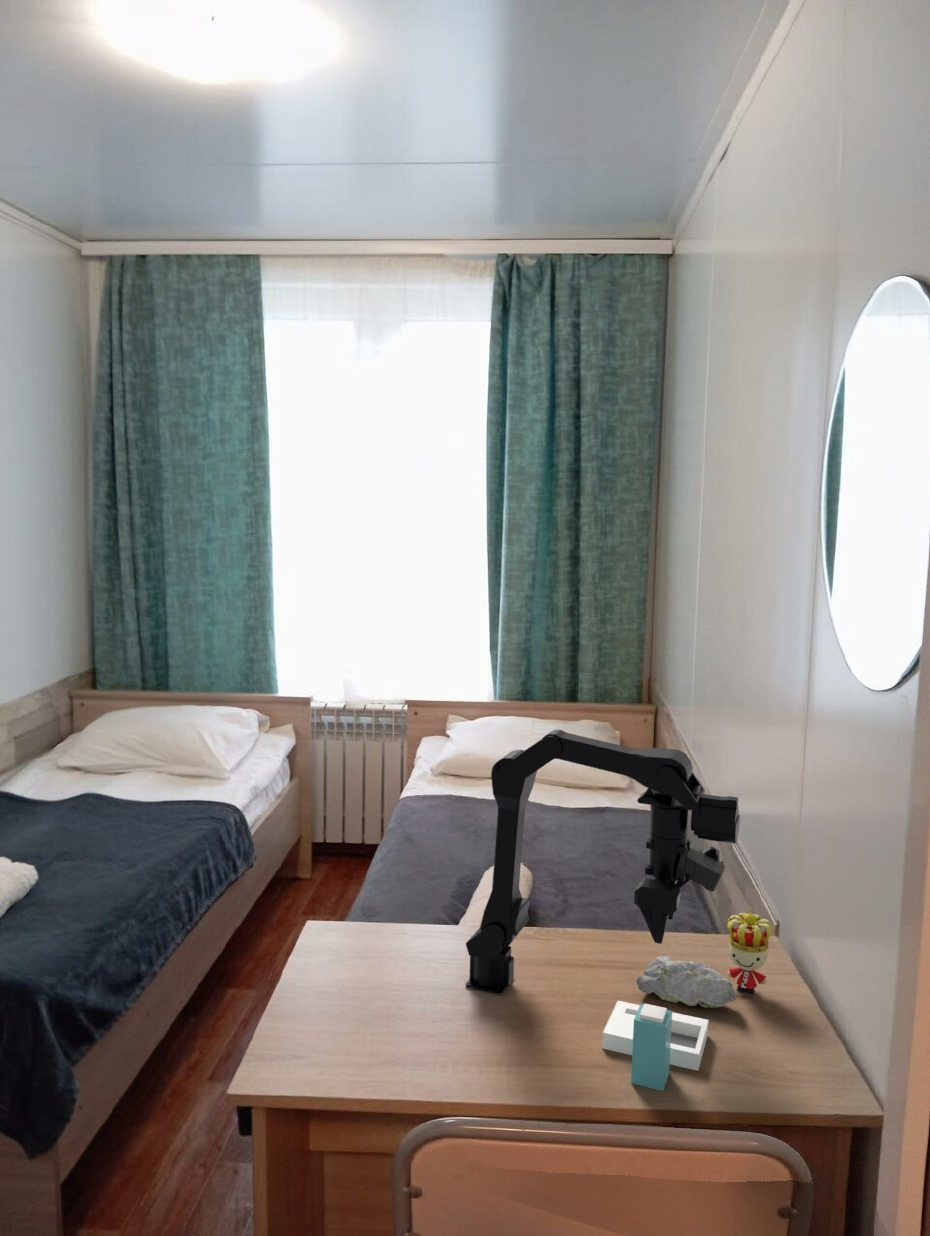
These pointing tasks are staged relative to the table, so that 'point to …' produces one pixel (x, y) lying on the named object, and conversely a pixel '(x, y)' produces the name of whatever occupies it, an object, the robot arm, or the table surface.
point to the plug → (651, 1046)
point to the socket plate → (684, 1035)
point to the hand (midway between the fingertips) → (663, 930)
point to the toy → (748, 949)
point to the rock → (686, 983)
